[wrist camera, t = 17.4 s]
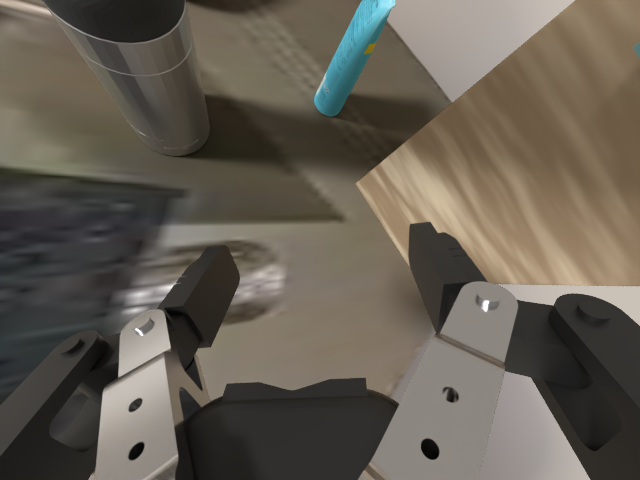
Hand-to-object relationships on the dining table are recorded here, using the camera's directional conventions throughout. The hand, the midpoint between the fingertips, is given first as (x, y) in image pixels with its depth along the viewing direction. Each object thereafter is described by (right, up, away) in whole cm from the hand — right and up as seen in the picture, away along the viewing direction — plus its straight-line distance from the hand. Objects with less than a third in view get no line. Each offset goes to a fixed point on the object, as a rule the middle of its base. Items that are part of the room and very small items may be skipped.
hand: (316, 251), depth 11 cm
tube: (+2, +24, +32) cm, 39 cm away
